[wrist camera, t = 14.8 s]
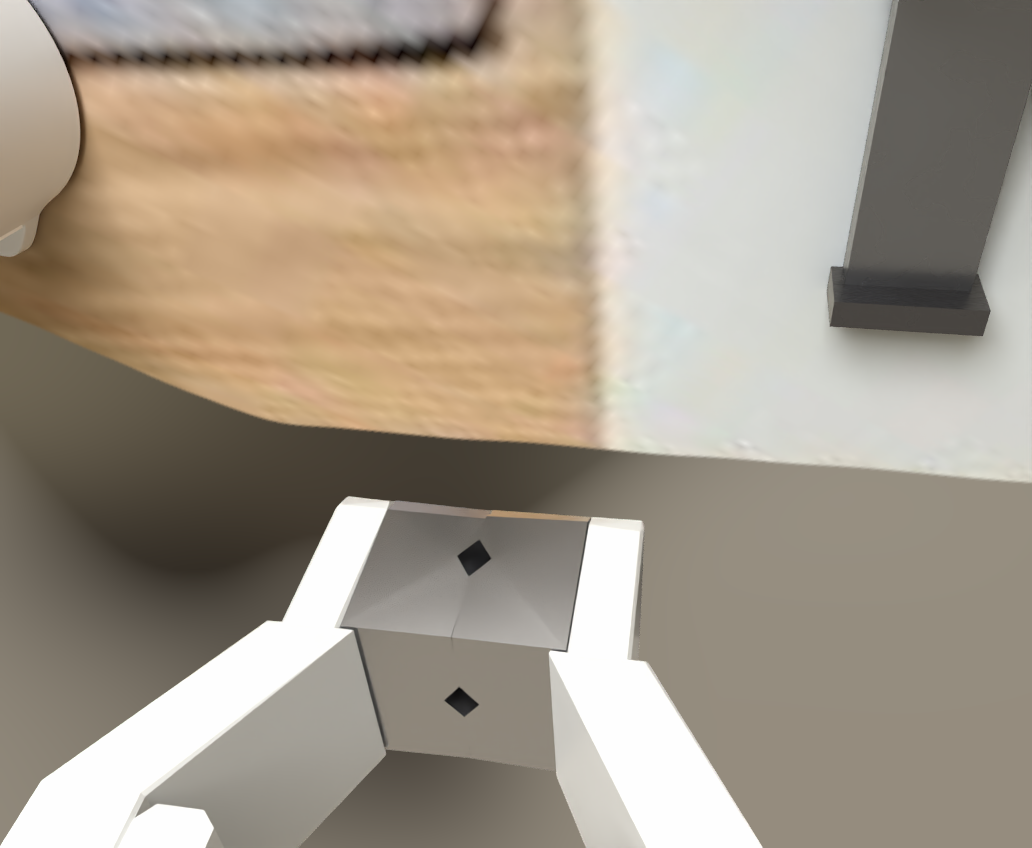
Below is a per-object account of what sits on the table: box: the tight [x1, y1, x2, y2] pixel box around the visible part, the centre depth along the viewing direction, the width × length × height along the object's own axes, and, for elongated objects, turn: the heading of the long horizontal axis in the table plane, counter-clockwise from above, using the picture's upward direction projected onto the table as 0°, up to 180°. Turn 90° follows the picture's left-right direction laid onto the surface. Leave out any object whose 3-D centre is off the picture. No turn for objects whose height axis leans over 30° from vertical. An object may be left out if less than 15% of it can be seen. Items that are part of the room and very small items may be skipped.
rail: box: [827, 0, 1032, 336], centre depth 31 cm, size 6×24×3 cm, turn 3°
